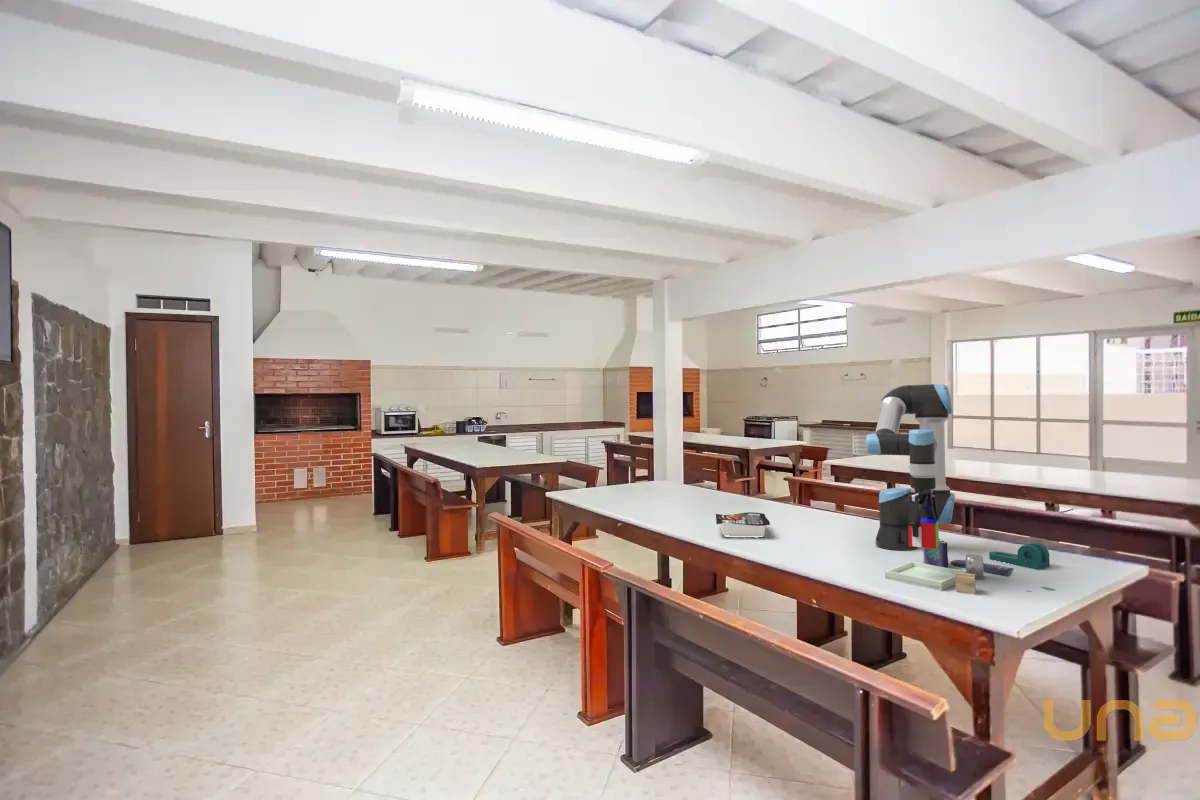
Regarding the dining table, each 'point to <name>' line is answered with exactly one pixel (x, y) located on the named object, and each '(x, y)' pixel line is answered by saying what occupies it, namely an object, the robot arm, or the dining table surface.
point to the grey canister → (975, 566)
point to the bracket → (1025, 556)
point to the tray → (923, 575)
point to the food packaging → (743, 524)
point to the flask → (937, 555)
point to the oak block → (965, 583)
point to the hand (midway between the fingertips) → (924, 543)
